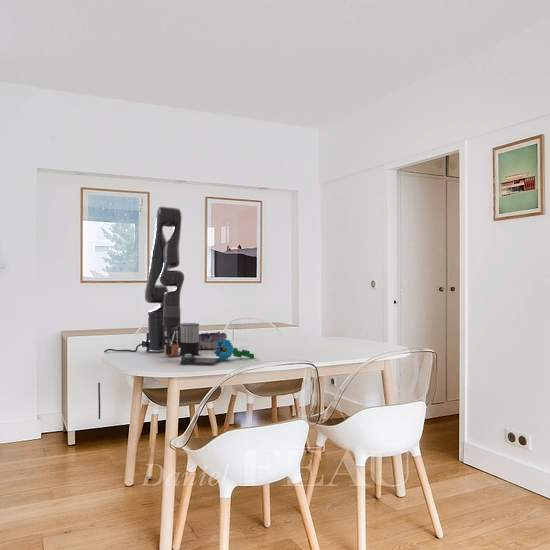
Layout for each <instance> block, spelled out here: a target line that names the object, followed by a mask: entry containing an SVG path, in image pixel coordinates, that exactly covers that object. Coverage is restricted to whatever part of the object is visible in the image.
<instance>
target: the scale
mask: <svg viewBox="0 0 550 550" xmlns="http://www.w3.org/2000/svg"><path fill="white" fill-rule="evenodd" d="M180 358H181V359H180V365H181V366H205V367H206V366H209V367H213V366H214V365H216V364H218V363H220V362H221V360H220V358H219V357H196V356H191V358H185V356H183V355H182V356H181V357H180Z"/></svg>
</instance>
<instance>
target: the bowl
mask: <svg viewBox="0 0 550 550" xmlns="http://www.w3.org/2000/svg"><path fill="white" fill-rule="evenodd" d="M179 352H180V348H179V344H171V355H166V346H165V350H164V352H163V353H164V355H165V356H167V357H169V356H171V357H176V356H175V355H178V356H179V355H180V353H179Z"/></svg>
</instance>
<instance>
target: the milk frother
mask: <svg viewBox="0 0 550 550" xmlns="http://www.w3.org/2000/svg"><path fill="white" fill-rule="evenodd" d="M177 329H180V339H179V342H178V344H179V354H178V355H175V356H174V357H178V356H182V357H183V356H185V354H191V356H194V357H196V356H199V355H200V349H199V342H198V341H199V334H200V323H195V322H185V323H180V326H179V327H177ZM164 350H165V349H164ZM168 357H169V358H171V357H172V356H168Z"/></svg>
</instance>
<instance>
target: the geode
mask: <svg viewBox="0 0 550 550" xmlns="http://www.w3.org/2000/svg"><path fill="white" fill-rule="evenodd" d="M227 336H228V335H227V334H226V332H220V331H217V332H203V333H199V341H198V342H199V350H212V349H213V350H218V349H219V348H220V346H217V344H216V342H219V341H220V340H221V341H223V339H225V340H227V338H228V337H227Z"/></svg>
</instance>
